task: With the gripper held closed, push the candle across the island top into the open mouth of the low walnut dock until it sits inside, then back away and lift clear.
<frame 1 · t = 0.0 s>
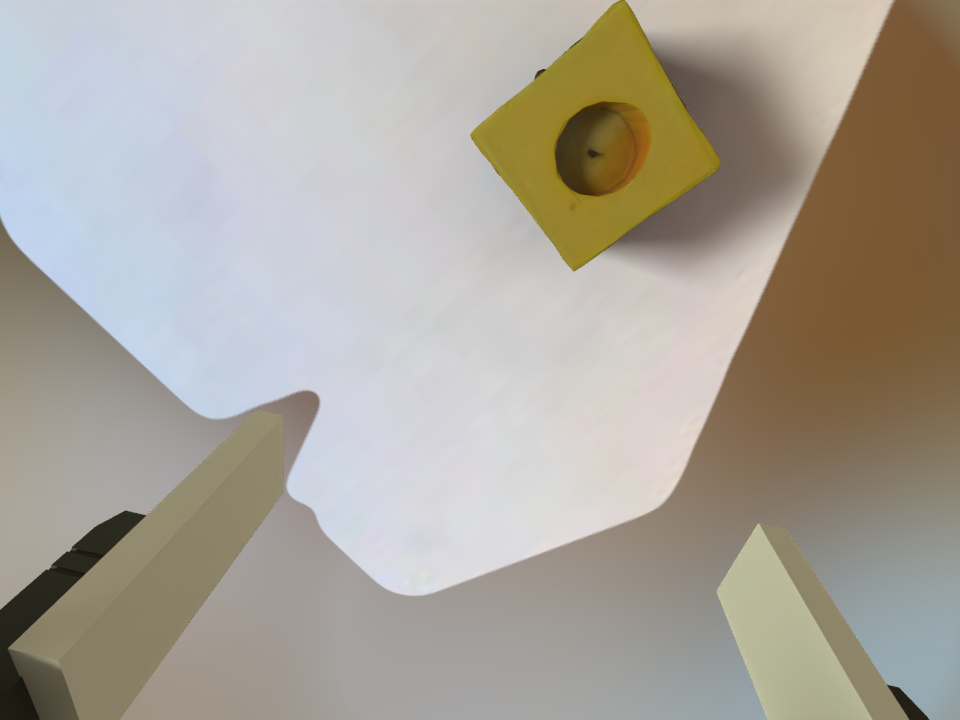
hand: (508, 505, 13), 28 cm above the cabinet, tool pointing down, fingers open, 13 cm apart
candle: (577, 147, 34), on the cabinet
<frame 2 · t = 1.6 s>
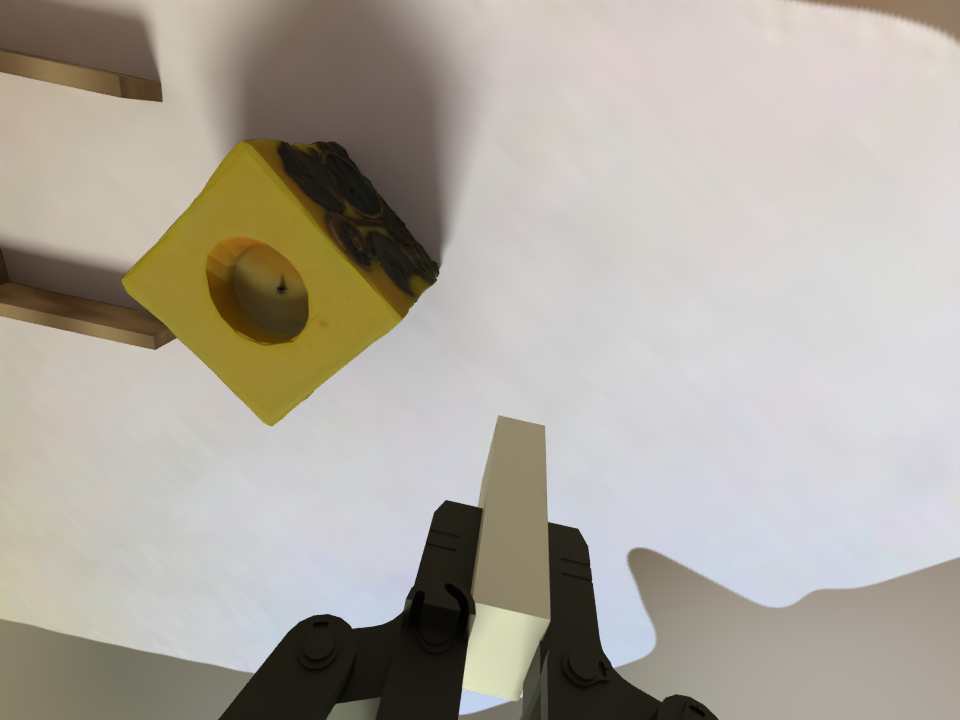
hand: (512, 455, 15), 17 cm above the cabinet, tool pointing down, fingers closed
dock: (70, 199, 30), on the cabinet
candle: (340, 256, 31), on the cabinet
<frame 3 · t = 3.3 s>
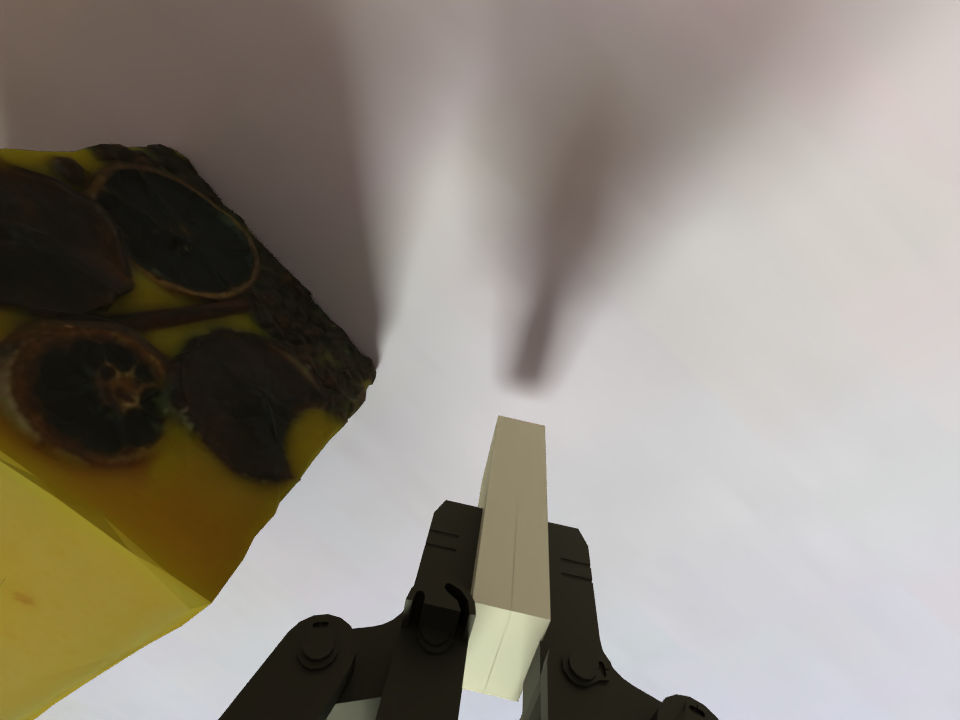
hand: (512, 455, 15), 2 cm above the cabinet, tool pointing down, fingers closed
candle: (208, 342, 18), on the cabinet
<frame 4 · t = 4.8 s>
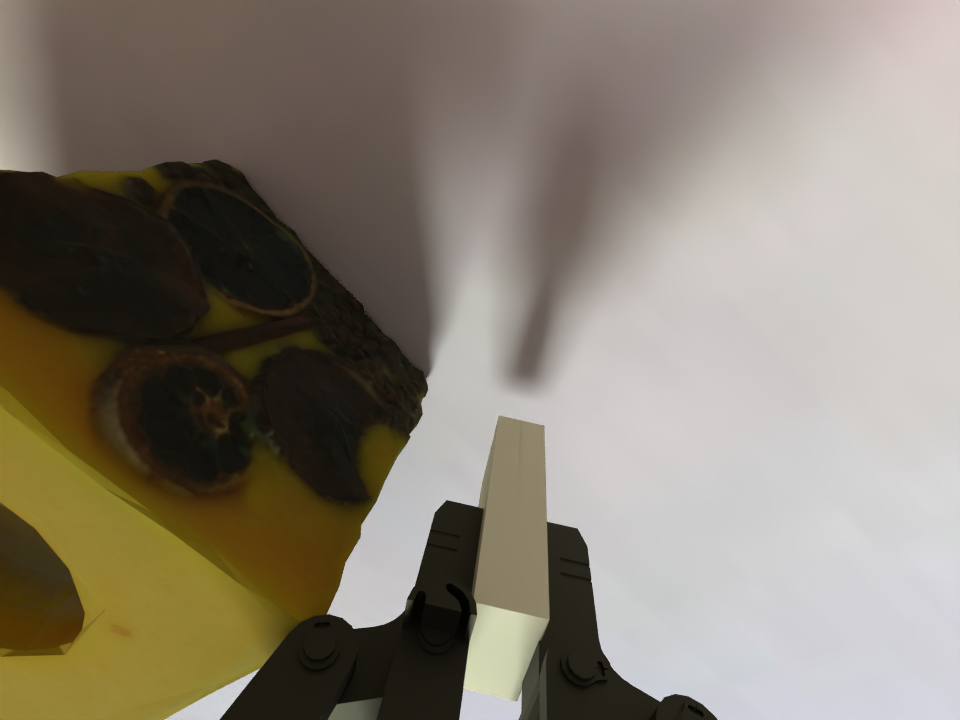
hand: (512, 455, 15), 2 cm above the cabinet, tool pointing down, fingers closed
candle: (255, 356, 18), on the cabinet, touching hand
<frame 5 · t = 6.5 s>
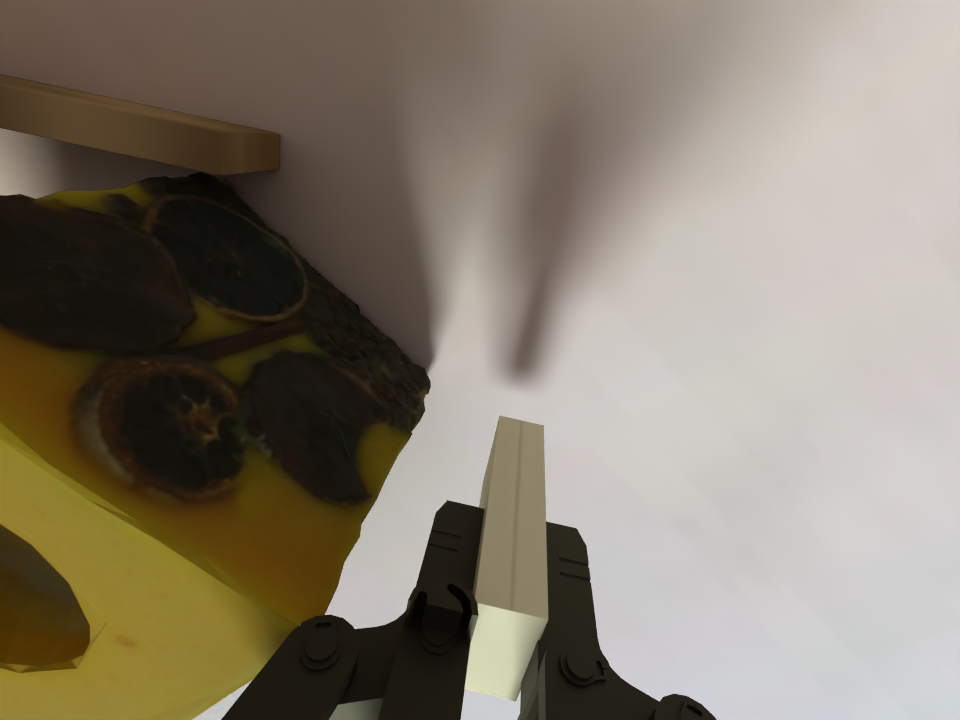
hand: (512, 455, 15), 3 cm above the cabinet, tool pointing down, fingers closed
dock: (98, 327, 18), on the cabinet
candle: (259, 366, 18), on the cabinet, touching hand
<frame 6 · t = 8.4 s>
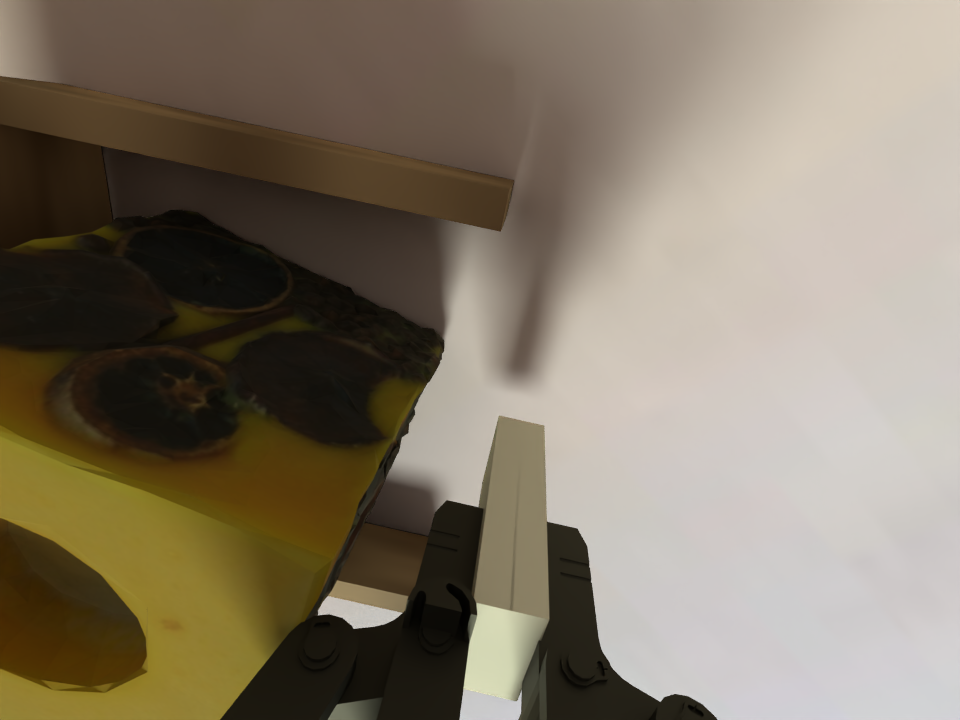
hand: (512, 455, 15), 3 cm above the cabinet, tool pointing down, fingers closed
dock: (284, 365, 17), on the cabinet
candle: (287, 383, 18), on the cabinet, touching dock, hand
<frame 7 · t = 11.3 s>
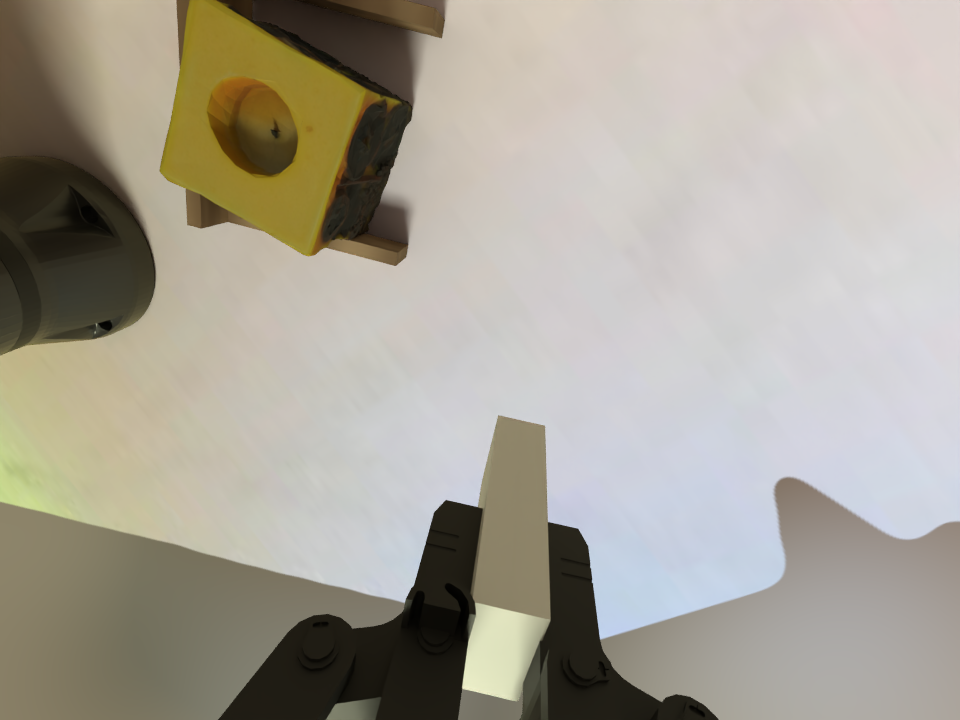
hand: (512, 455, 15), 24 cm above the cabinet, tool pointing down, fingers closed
dock: (330, 126, 34), on the cabinet
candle: (331, 139, 35), on the cabinet
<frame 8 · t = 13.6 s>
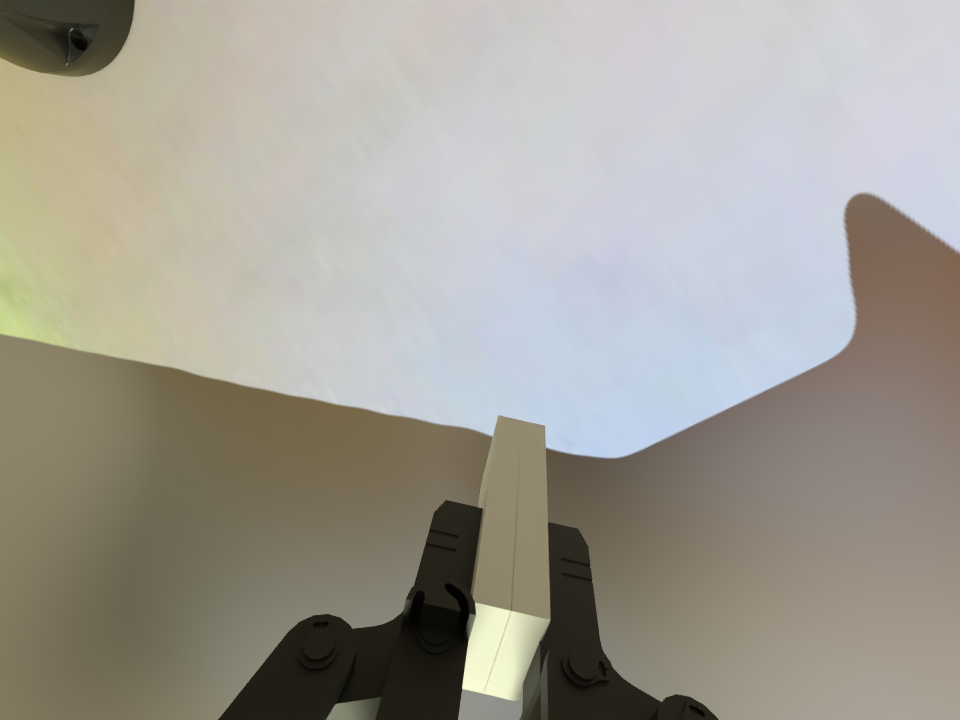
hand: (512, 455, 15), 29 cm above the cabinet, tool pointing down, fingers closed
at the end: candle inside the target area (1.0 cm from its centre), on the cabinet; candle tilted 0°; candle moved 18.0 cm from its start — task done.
